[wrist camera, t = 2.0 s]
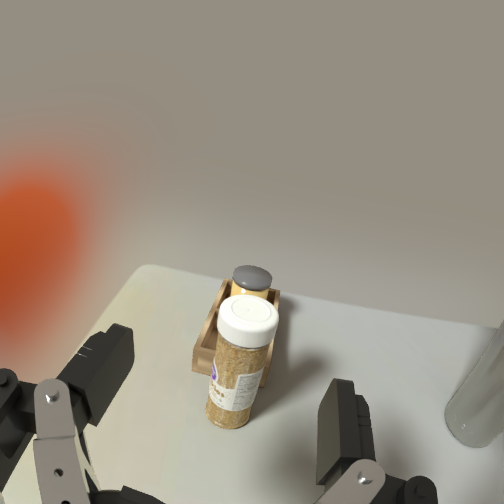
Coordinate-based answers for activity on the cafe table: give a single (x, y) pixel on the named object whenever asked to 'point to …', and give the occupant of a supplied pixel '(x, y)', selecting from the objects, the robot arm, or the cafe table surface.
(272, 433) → the cafe table surface
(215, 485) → the cafe table surface
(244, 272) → the honey jar
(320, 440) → the robot arm
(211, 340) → the caddy
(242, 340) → the sprinkles bottle
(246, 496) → the cafe table surface
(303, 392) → the cafe table surface
